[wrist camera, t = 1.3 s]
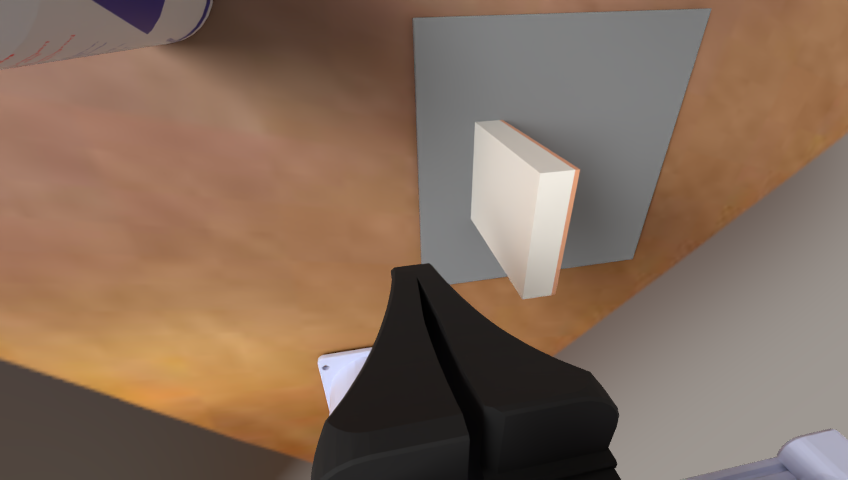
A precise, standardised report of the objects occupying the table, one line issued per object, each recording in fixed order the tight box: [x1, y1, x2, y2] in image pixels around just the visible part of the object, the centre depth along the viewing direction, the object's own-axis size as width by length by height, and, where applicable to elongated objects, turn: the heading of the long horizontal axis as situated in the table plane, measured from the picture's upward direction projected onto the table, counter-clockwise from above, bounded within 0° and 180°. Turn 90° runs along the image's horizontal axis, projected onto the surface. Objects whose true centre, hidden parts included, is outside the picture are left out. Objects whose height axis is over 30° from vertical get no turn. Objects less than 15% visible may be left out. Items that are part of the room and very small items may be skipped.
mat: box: [413, 9, 711, 284], centre depth 23 cm, size 16×16×1 cm
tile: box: [471, 120, 580, 299], centre depth 19 cm, size 6×2×8 cm, turn 1°
